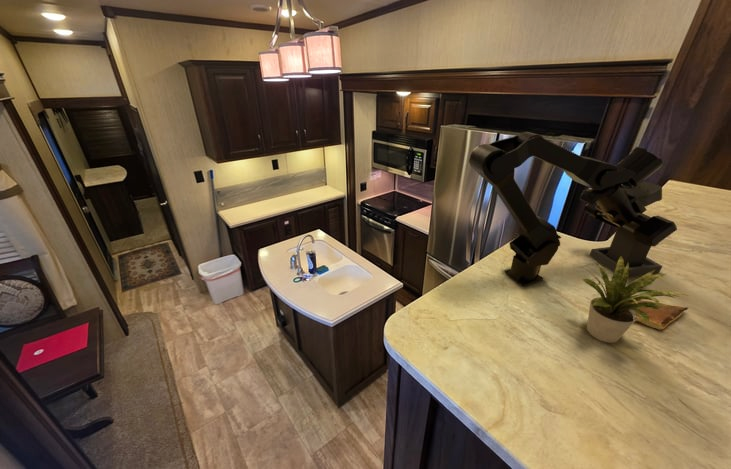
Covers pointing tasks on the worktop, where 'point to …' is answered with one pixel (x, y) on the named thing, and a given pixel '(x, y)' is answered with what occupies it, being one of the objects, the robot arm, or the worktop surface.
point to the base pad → (647, 267)
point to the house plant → (621, 302)
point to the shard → (661, 315)
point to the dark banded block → (628, 246)
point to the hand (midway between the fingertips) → (638, 235)
